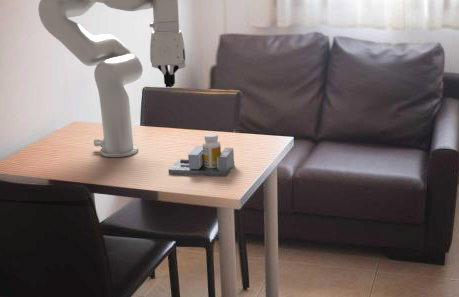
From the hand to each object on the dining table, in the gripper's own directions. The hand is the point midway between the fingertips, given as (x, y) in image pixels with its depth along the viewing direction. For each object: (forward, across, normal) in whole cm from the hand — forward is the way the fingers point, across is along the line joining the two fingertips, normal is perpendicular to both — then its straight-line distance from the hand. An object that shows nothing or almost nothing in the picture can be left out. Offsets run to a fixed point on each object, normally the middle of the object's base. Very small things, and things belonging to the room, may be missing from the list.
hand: (169, 86), depth 212 cm
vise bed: (+24, +12, -8) cm, 28 cm away
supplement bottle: (+23, +15, -8) cm, 28 cm away
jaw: (+22, +9, -8) cm, 25 cm away
